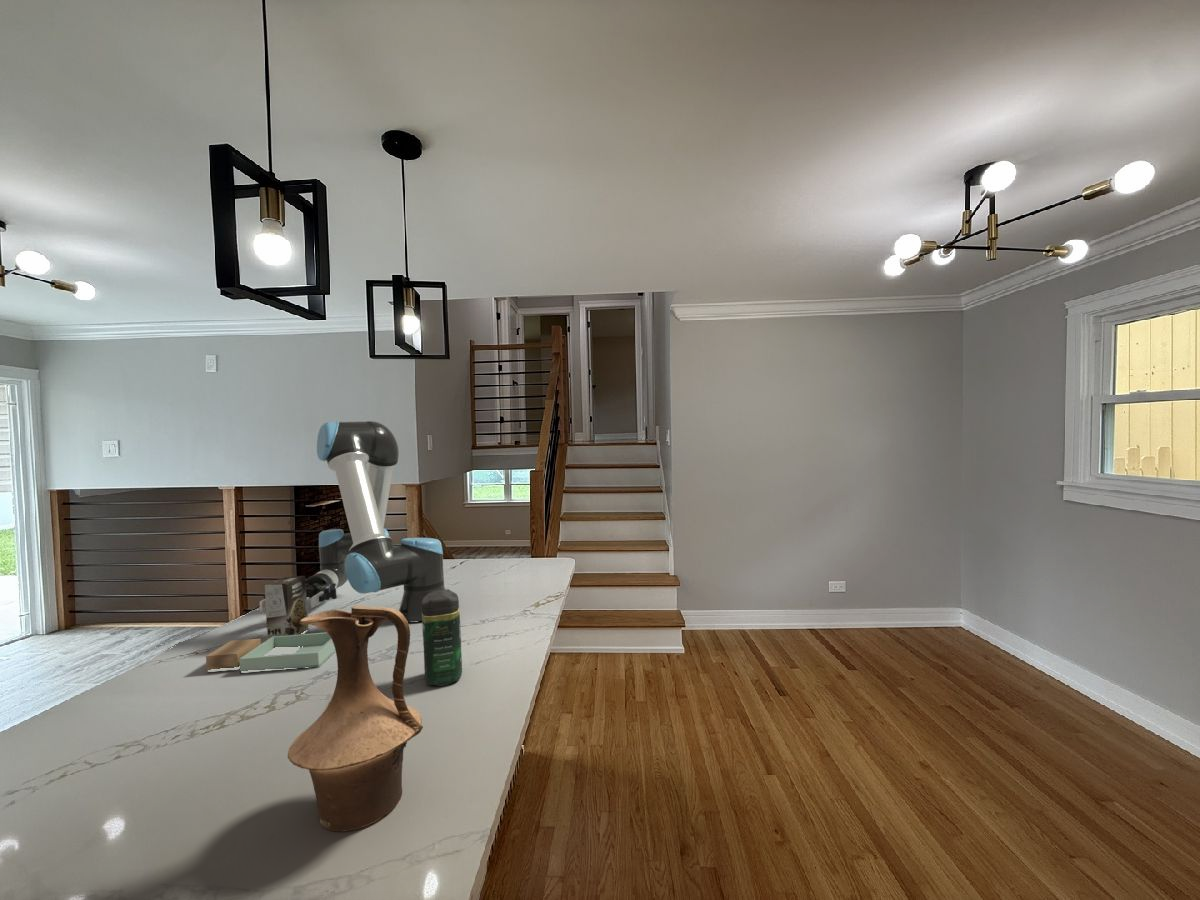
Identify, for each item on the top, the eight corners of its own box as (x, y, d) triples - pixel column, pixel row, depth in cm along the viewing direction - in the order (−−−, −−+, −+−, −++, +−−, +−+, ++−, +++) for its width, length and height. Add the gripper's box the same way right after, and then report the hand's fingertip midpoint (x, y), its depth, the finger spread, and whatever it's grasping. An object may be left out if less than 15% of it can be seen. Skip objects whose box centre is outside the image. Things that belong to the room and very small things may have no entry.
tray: (343, 644, 141) (342, 631, 140) (319, 667, 126) (318, 652, 126) (273, 650, 139) (272, 636, 139) (240, 674, 125) (239, 659, 124)
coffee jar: (463, 683, 113) (459, 596, 113) (424, 690, 111) (419, 601, 111) (462, 665, 123) (457, 584, 122) (426, 671, 120) (421, 589, 120)
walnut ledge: (261, 654, 137) (260, 638, 137) (238, 670, 127) (237, 653, 127) (232, 656, 136) (231, 640, 136) (206, 673, 126) (205, 656, 126)
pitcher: (441, 764, 85) (431, 587, 84) (406, 845, 68) (393, 624, 67) (328, 772, 84) (317, 594, 84) (263, 856, 67) (249, 633, 67)
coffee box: (290, 643, 143) (286, 583, 143) (266, 644, 143) (263, 584, 143) (309, 631, 152) (306, 575, 152) (287, 632, 152) (283, 576, 152)
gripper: (362, 593, 171) (334, 614, 150) (280, 599, 169) (240, 621, 148) (360, 570, 171) (332, 587, 150) (278, 575, 169) (238, 594, 148)
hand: (286, 604), depth 149 cm, fingers open, 13 cm apart
